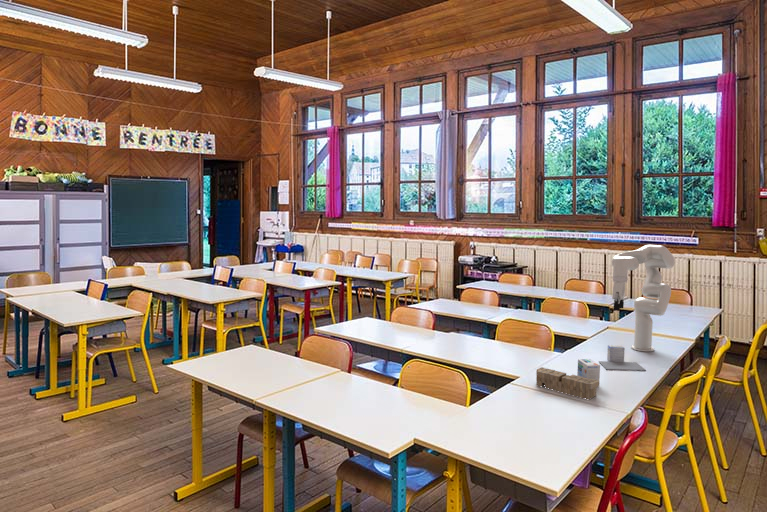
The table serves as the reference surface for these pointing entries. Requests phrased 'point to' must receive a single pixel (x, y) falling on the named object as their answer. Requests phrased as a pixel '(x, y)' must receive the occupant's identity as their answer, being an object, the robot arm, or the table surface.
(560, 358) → the table surface
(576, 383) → the brown segmented bar
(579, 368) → the light bulb box
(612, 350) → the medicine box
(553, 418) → the table surface
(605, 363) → the mat
